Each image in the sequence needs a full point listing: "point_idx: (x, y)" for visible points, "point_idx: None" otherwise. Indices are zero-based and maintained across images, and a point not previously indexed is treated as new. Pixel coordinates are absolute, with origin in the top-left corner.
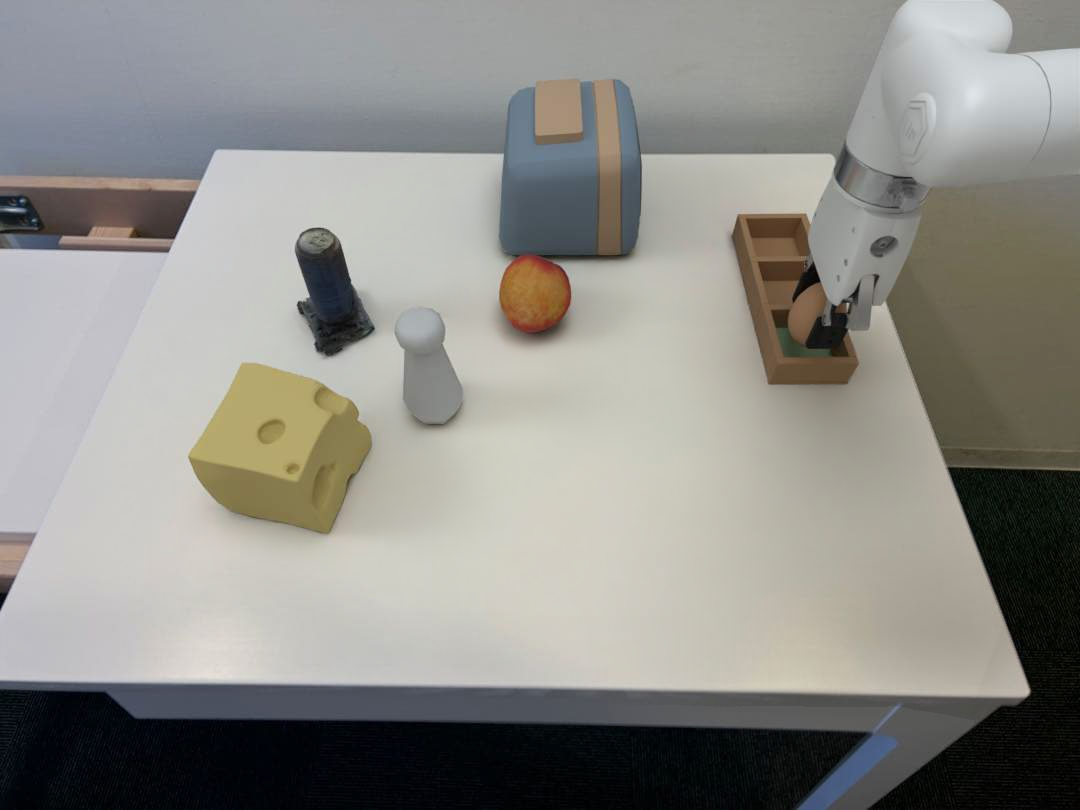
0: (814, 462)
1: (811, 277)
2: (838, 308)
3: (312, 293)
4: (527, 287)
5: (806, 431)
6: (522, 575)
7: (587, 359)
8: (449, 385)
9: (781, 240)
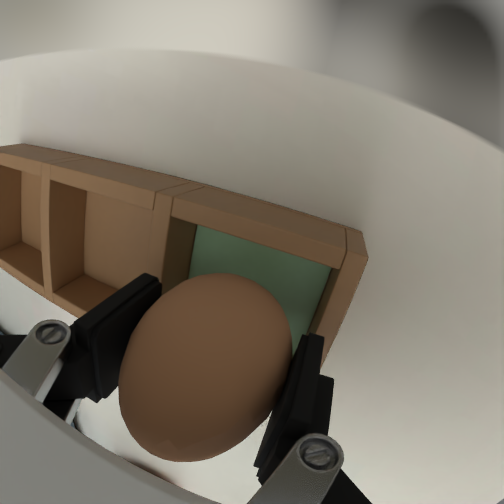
0: (467, 373)
1: (99, 389)
2: (235, 422)
3: None
4: None
5: (420, 360)
6: None
7: (204, 482)
8: None
9: (24, 178)
